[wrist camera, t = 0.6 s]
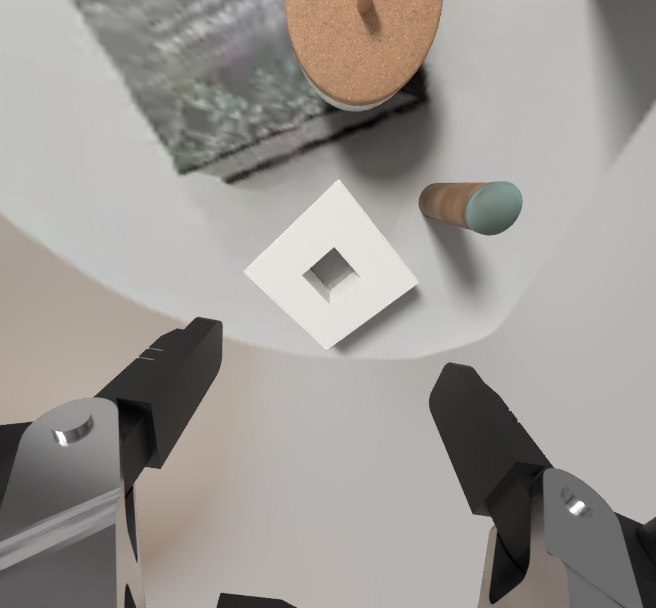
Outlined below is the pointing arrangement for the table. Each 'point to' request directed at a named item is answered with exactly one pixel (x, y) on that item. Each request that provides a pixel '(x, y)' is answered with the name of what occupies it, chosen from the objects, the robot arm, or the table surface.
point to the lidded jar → (361, 46)
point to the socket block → (310, 246)
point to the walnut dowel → (473, 205)
